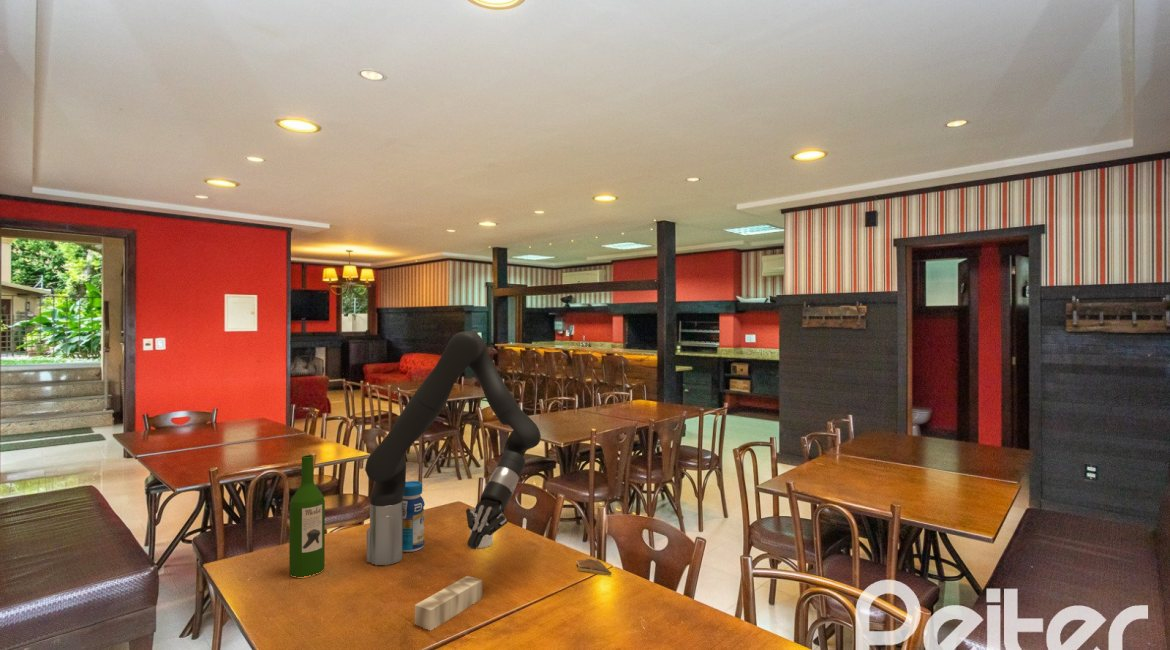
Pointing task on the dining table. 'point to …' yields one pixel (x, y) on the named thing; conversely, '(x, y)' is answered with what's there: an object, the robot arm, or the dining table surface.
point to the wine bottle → (307, 525)
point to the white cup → (485, 540)
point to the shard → (592, 567)
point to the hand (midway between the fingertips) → (471, 547)
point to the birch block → (448, 602)
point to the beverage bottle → (413, 517)
